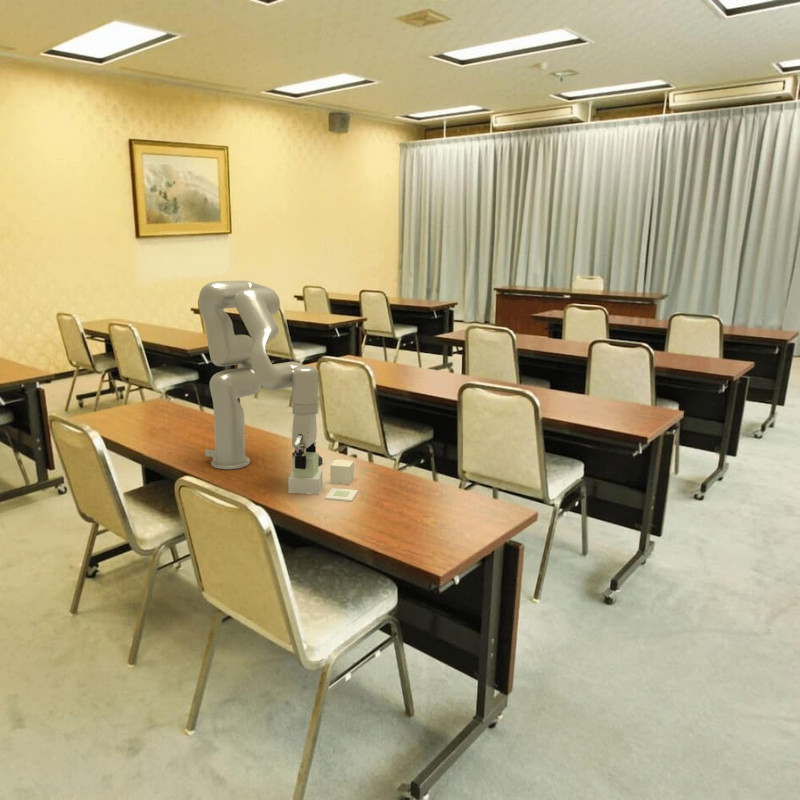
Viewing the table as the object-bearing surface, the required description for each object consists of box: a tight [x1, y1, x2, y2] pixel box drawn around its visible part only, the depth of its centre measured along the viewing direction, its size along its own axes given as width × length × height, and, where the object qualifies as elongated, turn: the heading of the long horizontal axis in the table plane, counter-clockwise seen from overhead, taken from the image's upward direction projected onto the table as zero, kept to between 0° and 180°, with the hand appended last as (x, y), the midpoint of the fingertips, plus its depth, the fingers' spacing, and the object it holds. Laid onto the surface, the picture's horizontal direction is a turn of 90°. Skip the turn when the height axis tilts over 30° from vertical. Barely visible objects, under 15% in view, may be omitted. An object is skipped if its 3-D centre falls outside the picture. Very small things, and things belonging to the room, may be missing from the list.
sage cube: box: [292, 451, 319, 478], centre depth 196 cm, size 6×6×6 cm
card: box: [324, 487, 359, 502], centre depth 193 cm, size 8×8×1 cm
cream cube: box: [329, 459, 355, 485], centre depth 205 cm, size 6×6×6 cm
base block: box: [287, 468, 323, 495], centre depth 198 cm, size 9×9×5 cm
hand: (305, 463), depth 196 cm, fingers open, 9 cm apart
